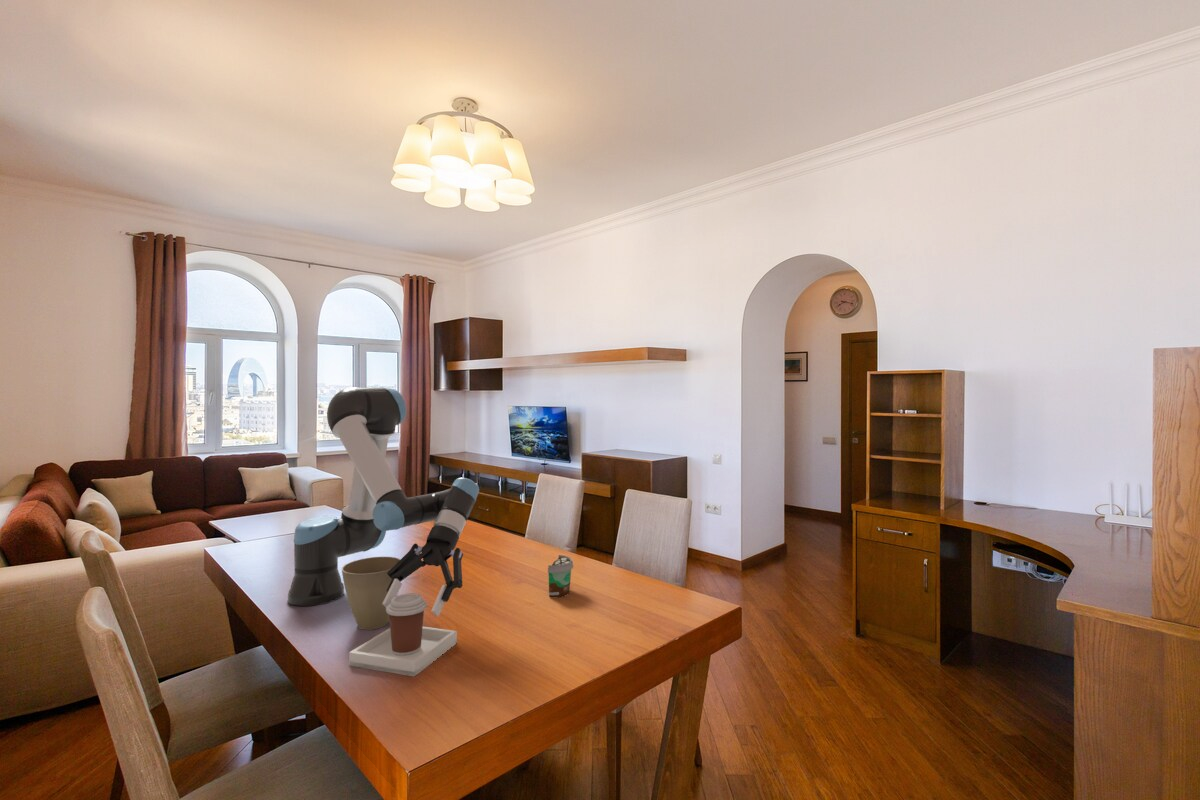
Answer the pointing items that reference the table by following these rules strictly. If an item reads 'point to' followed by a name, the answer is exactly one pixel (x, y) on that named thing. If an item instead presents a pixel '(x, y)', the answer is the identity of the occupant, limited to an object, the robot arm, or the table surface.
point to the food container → (560, 576)
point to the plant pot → (368, 590)
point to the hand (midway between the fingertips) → (410, 610)
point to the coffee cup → (406, 623)
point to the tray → (382, 659)
